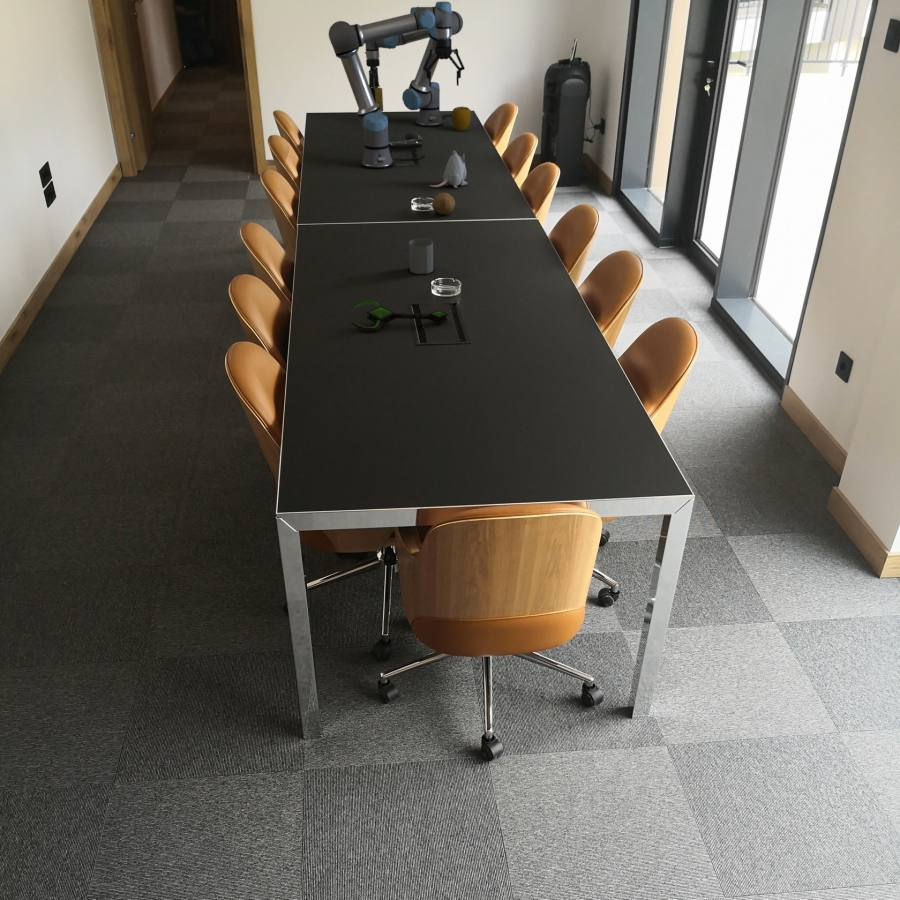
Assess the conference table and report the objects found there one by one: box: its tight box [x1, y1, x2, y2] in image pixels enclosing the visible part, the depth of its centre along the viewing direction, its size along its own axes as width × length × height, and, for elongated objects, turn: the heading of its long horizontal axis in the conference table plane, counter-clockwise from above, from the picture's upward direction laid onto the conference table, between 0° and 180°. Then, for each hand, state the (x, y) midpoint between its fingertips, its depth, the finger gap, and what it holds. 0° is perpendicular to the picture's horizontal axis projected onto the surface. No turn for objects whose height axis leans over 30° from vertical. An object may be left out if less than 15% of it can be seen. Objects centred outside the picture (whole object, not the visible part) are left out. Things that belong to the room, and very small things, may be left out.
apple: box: [451, 105, 472, 132], centre depth 487 cm, size 11×11×13 cm
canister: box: [375, 87, 384, 113], centre depth 501 cm, size 9×9×12 cm
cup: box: [408, 237, 434, 275], centre depth 305 cm, size 8×8×10 cm
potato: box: [431, 192, 456, 216], centre depth 360 cm, size 10×14×8 cm
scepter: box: [350, 299, 449, 332], centre depth 268 cm, size 6×13×30 cm
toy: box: [428, 149, 468, 189], centre depth 390 cm, size 9×24×15 cm, turn 137°
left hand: (443, 85), depth 426 cm, fingers open, 13 cm apart
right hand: (374, 100), depth 502 cm, fingers closed on canister, 9 cm apart
